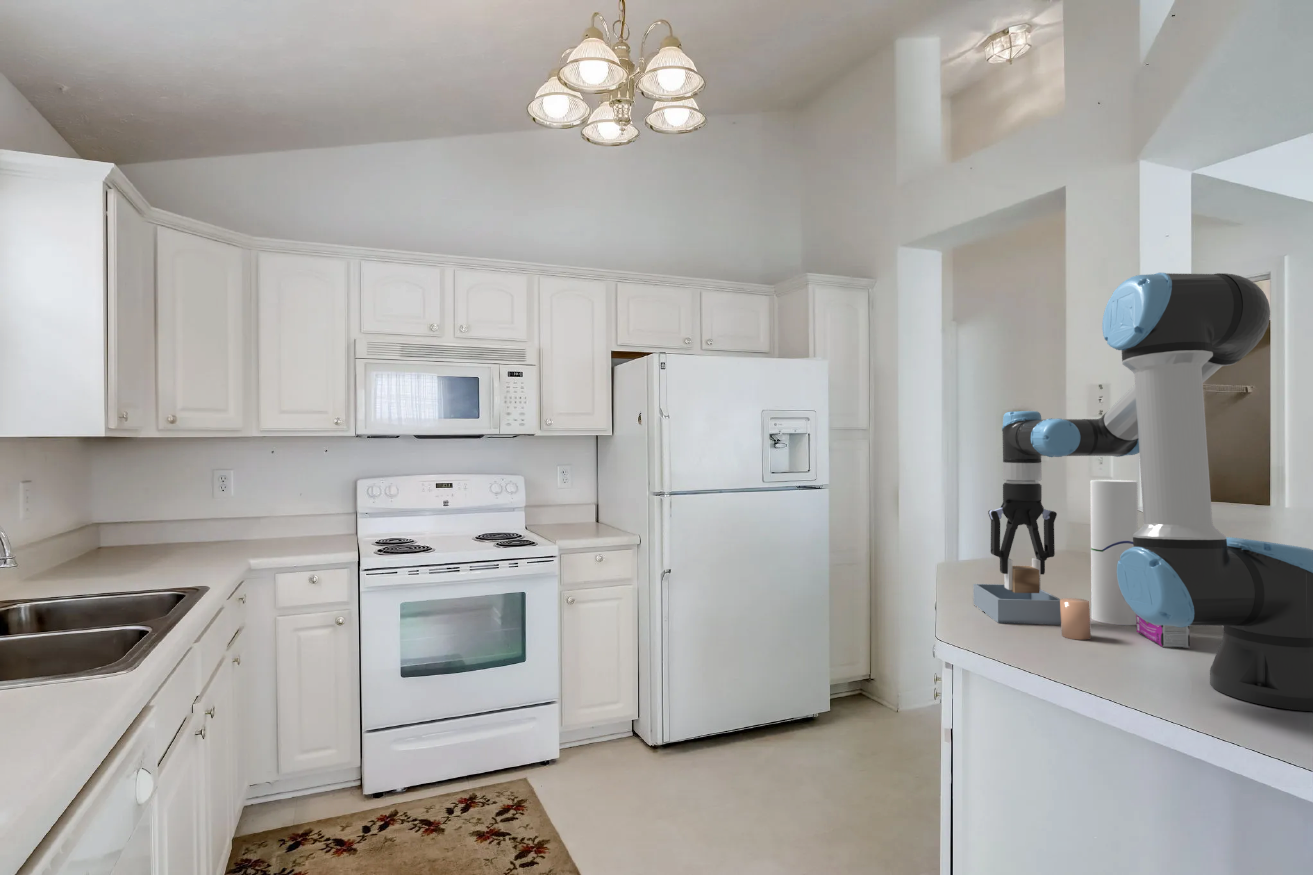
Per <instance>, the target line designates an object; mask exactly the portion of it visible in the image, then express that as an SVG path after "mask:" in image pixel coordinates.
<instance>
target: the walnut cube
mask: <svg viewBox="0 0 1313 875" xmlns="http://www.w3.org/2000/svg"><path fill="white" fill-rule="evenodd" d="M1010 591H1012V592H1014V593H1039V570H1038V569H1036V568H1033V567H1032V565H1012V590H1010Z"/></svg>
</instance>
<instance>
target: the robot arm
mask: <svg viewBox="0 0 1313 875" xmlns="http://www.w3.org/2000/svg"><path fill="white" fill-rule="evenodd" d="M1270 308H1271V307H1270V302H1269V300H1268V298H1267V295H1266V293H1264V291H1263V290H1262V288H1260V286H1259V285H1258V284H1256V283H1255V282H1253V281H1252V280H1251V279H1249V278H1246V277H1244V276H1242V275H1239V274H1233V273H1217V272H1216V273H1170V272H1169V273H1168V272H1167V273H1166V272H1156V273H1153V274H1152V273H1150V274H1148V273H1147V274H1137V275H1135V276H1131V277H1129V278H1127V279H1126V280H1124V281H1122V282H1121V283H1120V284H1119V285H1118V286H1117V288H1115V290H1114V291H1113V293H1112V295H1111V297H1110V298H1109V299H1108V301H1107V304H1106V306H1105V308H1104V313H1103V316H1102V325H1101V327H1102V328H1101V330H1102V336H1103V338H1104V340H1105V341H1106V343H1107V345H1108V346H1109V347H1110V348H1112V349H1115V350H1116V351H1121V363H1122V365H1123V367H1126V368H1127V369H1128V370H1129V371H1131V372H1132V373H1133V375H1134V385H1132V386H1131V387H1130V388H1129V389H1128V391H1127V392H1125V393H1124V395H1122V396H1121V397H1120V398H1119V400H1117V402H1115V404H1113V405H1112V406H1111V407H1110V408H1109V409H1107V411H1106V412H1105V413H1104V414H1103V415H1102V416H1101V417H1100V418H1092V419H1091V418H1087V419H1086V418H1081V419H1080V418H1079V419H1077V418H1074V419H1073V418H1070V419H1067V418H1066V419H1065V418H1053V417H1052V418H1045V419H1042V414H1041V413H1040V412H1039V411H1038V410H1027V411H1026V410H1023V411H1022V410H1021V411H1020V410H1018V411H1007V412H1005V413H1004V414H1003V416H1002V417H1003V418H1002V427H1001V432H1002V479H1003V481H1005V482H1004V483H1003V484H1002V504H1001V506H1000V508H996V509H990V510H988V511H987V512H988V513H987V515H988V517H989V519H990V554H991V555H993V556H995V557H998V558H999V572H1000V573H1001V574H1002V575H1004V576H1003V577H1004V583H1003V584H1004V587H1005V588H1006V589H1008V590H1012V566H1013V559H1011V558H1009V557H1010V553H1011V550H1012V547H1013V546H1012V545H1013V543H1014V540H1015V535H1016V532H1017V530H1018V528H1019V526H1022V525H1023V526H1026V528H1027V530H1028V534H1029V537H1030V541H1031V545H1032V548H1033V551H1034V556H1035V557H1036V558H1033V557H1032V558H1031V567H1033V568H1036V569H1038V570H1039V591H1040V589H1041V575H1045V573H1046V561H1047V560H1048V559H1049V558H1053V557H1055V554H1056V553H1055V520H1056V518H1057V517H1058V513H1057V512H1056V511H1054V510H1050V509H1049V510H1048V509H1046V508H1044V506H1043V504H1042V495H1043V494H1042V493H1043V492H1042V490H1043V489H1042V488H1043V487H1042V484H1041V483H1039V482H1041V481H1043V480H1042V479H1043V478H1042V457H1047V458H1048V457H1049V458H1062V457H1095V456H1096V457H1117V458H1118V457H1119V458H1120V457H1125V456H1135V455H1138V454H1139V467H1140V468H1139V470H1140V482H1141V483H1140V484H1141V499H1142V500H1141V501H1142V513H1143V514H1142V516H1143V517H1142V518H1143V520H1142V521H1143V524H1142V526H1141V527H1140V528H1138V531H1137V532H1136V533H1134V534H1133V546H1134V547H1132V548H1129V549H1128V550H1125V551H1124V552H1123V553H1122V554H1121V556H1120V559H1121V560H1119V561H1118V564H1117V579H1118V584H1119V587H1120V590H1121V593H1122V595H1123V597H1124V599H1125V601H1126V602H1127V604H1128V605H1130V607H1131V609H1132V610H1133V611H1134V612H1135V613H1136V614H1137V615H1138V616H1139V617H1140V618H1142V619H1143V620H1145V621H1147V622H1149V623H1152V624H1155V625H1166V626H1176V627H1186V626H1189V627H1211V626H1212V627H1213V626H1214V627H1218V626H1219V627H1221V626H1222V627H1223V632H1222V633H1223V635H1222V640H1221V642H1220V643H1219V647H1218V649H1217V651H1216V654H1215V656H1214V659H1213V660H1212V665H1211V666H1210V668H1209V669H1210V670H1209V685H1210V687H1212V688H1213V689H1214V690H1216V691H1217V692H1220V693H1222V694H1225V695H1226V696H1229V697H1233V698H1235V699H1238V700H1242V701H1245V702H1249V703H1252V704H1253V703H1254V704H1257V705H1261V706H1267V707H1271V708H1272V707H1273V708H1279V709H1285V710H1290V711H1291V710H1292V711H1302V712H1303V711H1304V712H1313V549H1312V548H1309V547H1302V546H1298V545H1291V544H1283V543H1276V542H1270V541H1262V540H1257V539H1256V540H1255V539H1247V538H1241V537H1233V536H1232V537H1231V536H1226V535H1225V534H1224V533H1223V532H1221V531H1220V530H1219V529H1217V528H1216V527H1215V526H1214V524H1213V510H1212V499H1211V498H1212V497H1211V482H1210V468H1209V467H1210V466H1209V456H1208V455H1209V454H1208V441H1207V439H1208V438H1207V428H1206V427H1207V426H1206V414H1205V399H1204V397H1205V396H1204V386H1203V385H1204V384H1203V383H1205V382H1206V381H1207V380H1208V379H1209V378H1210V377H1212V376H1213V375H1214V374H1216V372H1217V371H1218V370H1220V369H1221V368H1222V367H1227V366H1233V365H1235V364H1237V363H1238V362H1239V361H1242V359H1243V358H1244V357H1246V356H1247V355H1248V354H1249V353H1250V352H1251V351H1252V350H1253V349H1254V348H1255V347H1256V346H1257V345H1258V344H1259V342H1260V341H1261V340H1262V339H1263V337H1264V335H1265V333H1266V331H1267V329H1268V326H1269V324H1270V318H1271V309H1270ZM1002 514H1003V515H1004V516H1005V518H1006V519H1007V520H1006V528H1005V531H1004V534H1003V535H1004V536H1003V540H1002V543H1001V519H1002ZM1041 515H1042V518H1043V543H1042V538H1041V535H1040V530H1039V526H1038V519H1039V518H1040V517H1041Z"/></svg>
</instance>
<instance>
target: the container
mask: <svg viewBox="0 0 1313 875" xmlns="http://www.w3.org/2000/svg"><path fill="white" fill-rule="evenodd" d="M1089 485H1090V486H1089V487H1090V492H1089V493H1090V494H1089V498H1090V504H1089V505H1090V589H1091V591H1090V596H1091V598H1090V600H1091V602H1090V603H1091V604H1090V605H1091V607H1090V608H1091V612H1090V613H1091V614H1090V619H1092V620H1093V621H1096V622H1100V623H1103V624H1108V625H1118V626H1136V613H1135V612H1134V611H1133V610H1132V609H1131V607H1130V605H1128V604H1127V602H1126V601H1125V599H1124V597H1123V595H1122V593H1121V590H1120V587H1119V584H1118V579H1117V564H1118V561H1119V560H1121V559H1120V556H1121V554H1122V553H1123V552H1124V551H1125V550H1128V549H1129V548H1132V547H1134V546H1133V534H1134V533H1136V532H1137V531H1138V530H1139V522H1138V521H1139V516H1138V515H1139V513H1138V512H1139V510H1138V505H1139V504H1138V480H1129V479H1128V480H1126V479H1090V484H1089Z"/></svg>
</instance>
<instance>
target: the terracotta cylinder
mask: <svg viewBox="0 0 1313 875" xmlns="http://www.w3.org/2000/svg"><path fill="white" fill-rule="evenodd" d="M1059 599H1060V611H1061V625H1060V628H1061V636H1062V637H1063V638H1066V639H1071V640H1081V641H1082V640H1090V639H1092V633H1091V632H1092V629H1091V614H1090V613H1091V612H1090V600H1087V599H1084V598H1083V599H1082V598H1076V597H1075V598H1073V597H1069V598H1068V597H1065V598H1059Z"/></svg>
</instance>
